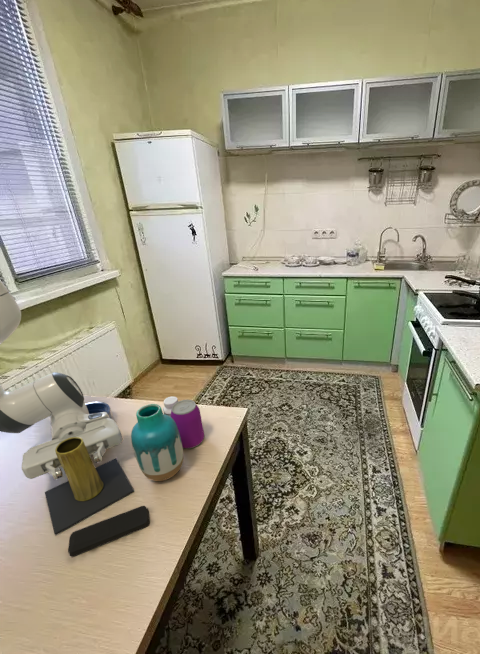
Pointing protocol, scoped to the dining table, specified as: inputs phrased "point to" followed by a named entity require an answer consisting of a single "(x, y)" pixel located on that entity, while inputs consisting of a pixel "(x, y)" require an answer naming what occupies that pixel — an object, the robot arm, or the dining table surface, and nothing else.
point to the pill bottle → (169, 405)
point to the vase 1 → (79, 468)
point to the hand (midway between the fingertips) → (78, 467)
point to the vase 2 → (156, 443)
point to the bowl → (99, 408)
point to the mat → (73, 511)
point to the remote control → (108, 530)
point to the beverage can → (188, 423)
